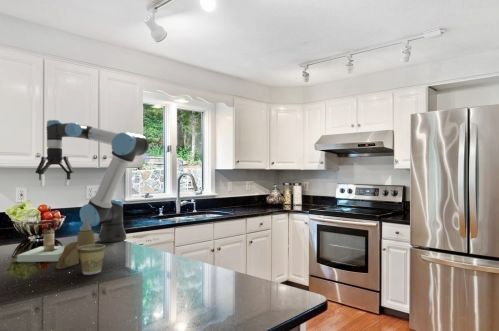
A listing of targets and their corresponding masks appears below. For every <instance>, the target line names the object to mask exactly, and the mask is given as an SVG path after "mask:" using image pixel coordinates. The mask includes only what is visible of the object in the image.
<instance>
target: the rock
mask: <svg viewBox="0 0 499 331" xmlns="http://www.w3.org/2000/svg"><path fill="white" fill-rule="evenodd" d="M64 246H65V247H64V251H63V253H62V255H61V257H60V258H59V260H58V261H57V263H56V266H55V269H58V270H60V269H66V268H69V267H73V266H75V265H78V264H79V263H80V259H79V256H78V250H77V248H78V247H79V244H78V242H77V241H73V242H70V243H69V244H67V245H64Z"/></svg>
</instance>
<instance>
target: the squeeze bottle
mask: <svg viewBox="0 0 499 331" xmlns="http://www.w3.org/2000/svg"><path fill="white" fill-rule="evenodd" d="M76 242H78V244H79V247H80V246H84V245H91V244H96V242H95V233H94V231H93V230H92V226H89V225H88V221H87V218H85V219H84V222H82V226H80V227H79V231H78V232H77V240H76ZM78 256H79V255H78Z"/></svg>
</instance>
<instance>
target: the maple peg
mask: <svg viewBox="0 0 499 331" xmlns="http://www.w3.org/2000/svg"><path fill="white" fill-rule="evenodd" d="M42 235H43V246H44V252H53V251H54V246H55V230H54V229H50V230H49V229H48V230H47V229H46V230H43V234H42Z"/></svg>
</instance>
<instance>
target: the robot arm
mask: <svg viewBox="0 0 499 331" xmlns="http://www.w3.org/2000/svg"><path fill="white" fill-rule="evenodd" d="M45 128H46V147H47V149H46V155H47V156H41V158H40V162H39V164H38V166H37V168H36V170H35V174H37V175H38V179H39V181H40V186H41V187H45V186H46V185H45V184H46V178H45V177H46V175H45V172H46V171H47V170H48V169H49V168H50V166H53V165H58V166H60V168H61V169H62V170H63V171H64V172H65V173H64V184H65V185H64V186H65V187H68V186H70V180H71V174H73V173H74V172H75V171H74V169H73V167H72V165H71V163H70V160H69V157H68V156H66V155H65V156H63V138H75V139H76V138H78V139H85V140H89V141H93V142H98V143H103V144H107V145H111V150H112V151H111V156H112V158H111V160H110V162H109V165H108V166H107V168H106V171H105V173H104V175H103V177H102V180H101V182H100V184H99V186H98V189H97V190H96V193H95V195H93V196H92V197H90V199H89V201H88V203H87V204H84V205H83V206H81V208H80V209H79V218H80V221H81V222H82V223H83V222H84V219H85V218H87V221H88V225H89V226H91V227H95V226H99V225H101V227H100V231H99V233H98V237H97V240H98V242H100V243H115V242H123V241H125V240H127V233H126V229H125V227H124V203H123V201H122V200H121V199H113V197H114V196H115V193H116V192H117V190H118V187H119V184H120V183H121V181H122V179H123V176H124V174H125V172H126V170H127V168H128V166H129V164H131V163H133V162H134V160H135V158H136V157H137V156H138V157H139V156H140V157H141V156H142V155H144V154H146V153H147V152H148V151H149V148H150V143H149V140H148V138H147V137H145V136H144V135H142V134H138V133H132V132H114V131H110V130H106V129H102V128H98V127H93V126H91V125H90V126H89V125H82V124H79V123H78V122H67V123H66V122H65V123H63V122H62V120H58V119H48V120H47V122H46V127H45ZM46 161H47V162H46ZM63 161H64V163H63Z"/></svg>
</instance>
